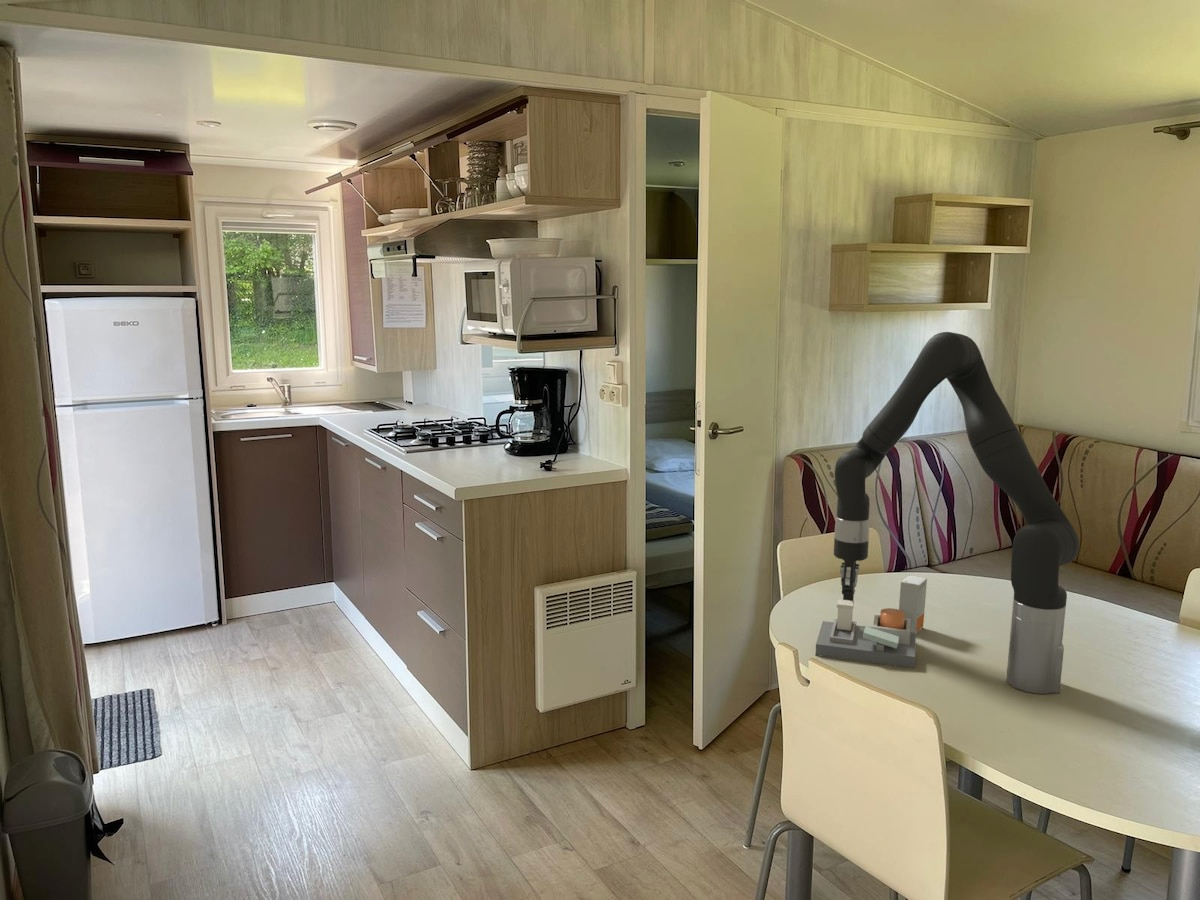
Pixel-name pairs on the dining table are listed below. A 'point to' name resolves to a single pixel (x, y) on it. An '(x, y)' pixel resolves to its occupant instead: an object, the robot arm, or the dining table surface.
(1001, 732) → the dining table surface
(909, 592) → the skincare box
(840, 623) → the lever
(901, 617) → the orange piece
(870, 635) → the block
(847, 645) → the panel
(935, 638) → the dining table surface
